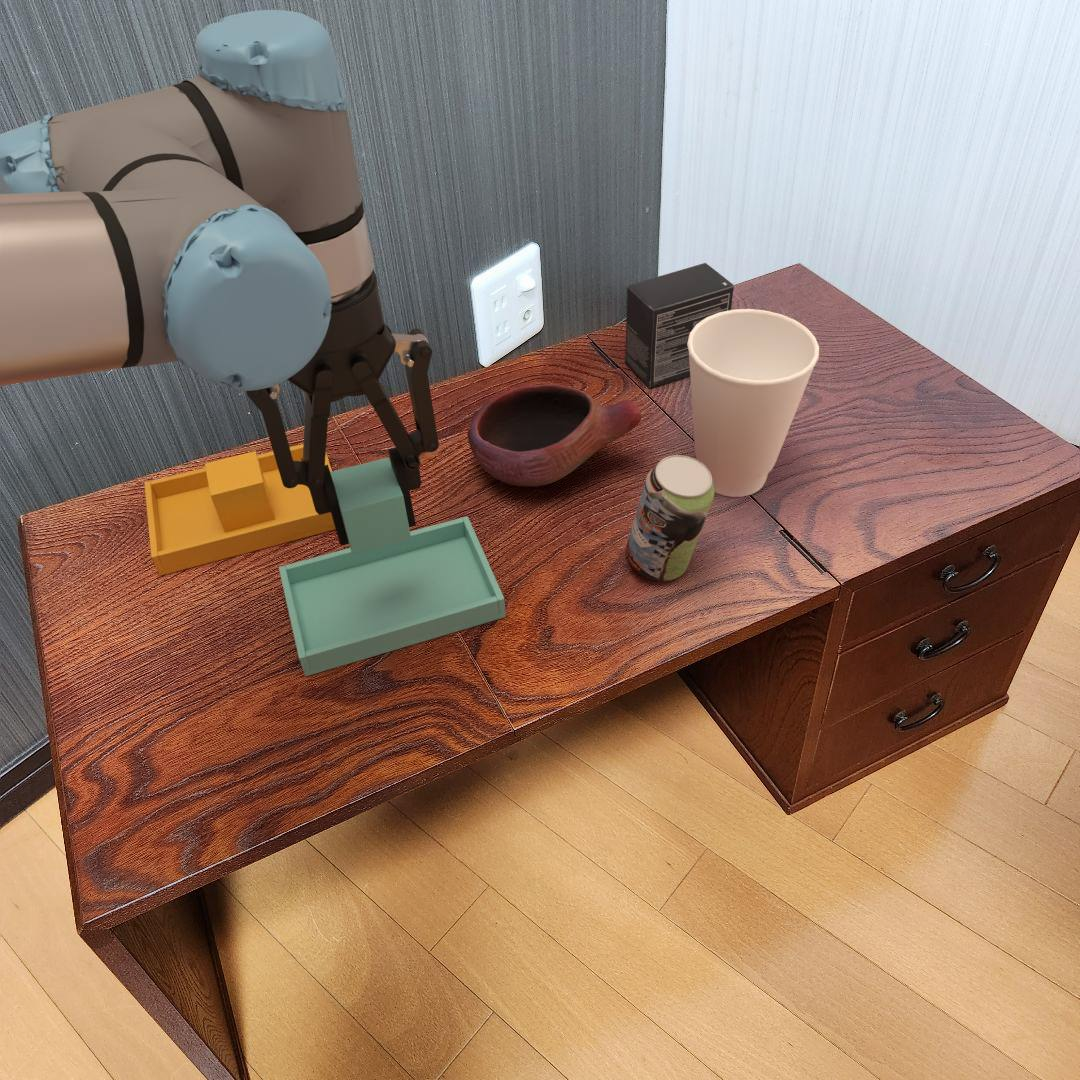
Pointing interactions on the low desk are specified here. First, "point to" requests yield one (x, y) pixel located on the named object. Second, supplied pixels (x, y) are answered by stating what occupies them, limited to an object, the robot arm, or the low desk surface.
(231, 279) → the robot arm
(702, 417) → the cup
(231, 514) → the ochre block
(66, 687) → the low desk surface
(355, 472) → the teal block
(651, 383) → the small box
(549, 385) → the bowl
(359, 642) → the teal tray
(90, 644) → the low desk surface
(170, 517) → the ochre tray
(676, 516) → the beverage can
